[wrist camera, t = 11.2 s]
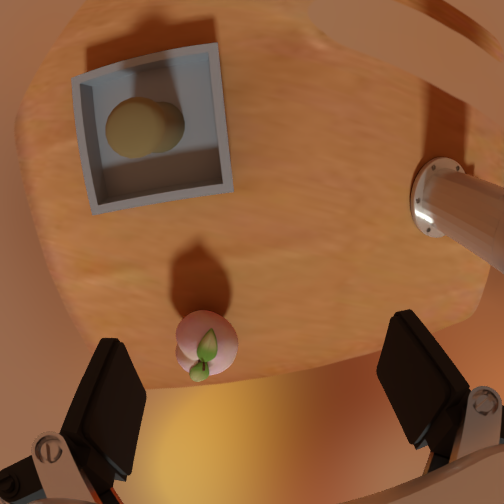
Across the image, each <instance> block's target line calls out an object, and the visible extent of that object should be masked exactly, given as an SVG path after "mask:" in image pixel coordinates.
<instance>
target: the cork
mask: <svg viewBox="0 0 504 504" xmlns="http://www.w3.org/2000/svg"><path fill="white" fill-rule="evenodd" d="M184 131H185V121H184V118H183V114H182V113H181V112H180V110H179V109H178V108H177V107H176V106H174V105H173V104H171V103H167V102H154V101H153V100H151V99H149V98H144V97H132V98H129V99H127V100H124V101H122V102H120V103H119V104H118V105H117V106H116V107H115V108H114V109H113V110H112V111H111V113H110V115H109V116H108V119H107V122H106V126H105V135H106V138H107V141H108V144H109V145H110V147H111V148H112V149H113V151H115V152H116V153H118V154H119V155H121V156H123V157H127V158H130V159H132V158H141V157H144V156H146V155H149V154H151V153H163V152H166V151H169V150H171V149H172V148H174V147H175V146H176V145H177V144H178V143H179V141H180V140H181V139H182V137H183V134H184Z"/></svg>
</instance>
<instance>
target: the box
mask: <svg viewBox="0 0 504 504" xmlns="http://www.w3.org/2000/svg"><path fill="white" fill-rule="evenodd" d="M71 80H72V95H73V106H74V116H75V125H76V132H77V140H78V146H79V153H80V159H81V164H82V170H83V175H84V180H85V185H86V190H87V194H88V199H89V203H90V207H91V212H92V215H97V214H102V213H107V212H112V211H117V210H122V209H128V208H133V207H139V206H144V205H150V204H156V203H162V202H168V201H174V200H180V199H187V198H193V197H200V196H207V195H214V194H222V193H229V192H234V188H233V179H232V171H231V162H230V153H229V144H228V136H227V126H226V117H225V108H224V99H223V90H222V80H221V71H220V61H219V51H218V42H217V43H209V44H201V45H194V46H188V47H182V48H176V49H171V50H166V51H161V52H156V53H152V54H147V55H143V56H139V57H135V58H131V59H128V60H124V61H120V62H117V63H114V64H110V65H107V66H104V67H101V68H98V69H95V70H92V71H89V72H86V73H84V74H81V75H78V76H76V77H73V78H71ZM132 97H144V98H149V99H151V100H153V101H154V102H167V103H171V104H173V105H174V106H176V107H177V108H178V109H179V110H180V112H181V113H182V114H183V118H184V121H185V131H184V134H183V137H182V139H181V140H180V141H179V143H178V144H177V145H176V146H175V147H174V148H172V149H171V150H169V151H166V152H163V153H151V154H149V155H146V156H144V157H141V158H132V159H130V158H127V157H123V156H121V155H119V154H118V153H116V152H115V151H113V149H112V148H111V147H110V145H109V144H108V141H107V138H106V135H105V126H106V122H107V119H108V116H109V115H110V113H111V111H112V110H113V109H114V108H115V107H116V106H117V105H118V104H119V103H120V102H122V101H124V100H127V99H129V98H132Z"/></svg>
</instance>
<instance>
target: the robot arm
mask: <svg viewBox="0 0 504 504" xmlns="http://www.w3.org/2000/svg"><path fill="white" fill-rule="evenodd" d="M410 203H411V213H412V217H413V220H414V222H415V224H416V226H417V227H418V228H419V229H420V230H421V231H422V232H423V233H424V234H426V235H428V236H430V237H436V238H437V237H442V236H445V235H447V236H448V237H450V238H451V239H453V240H455V241H456V242H458V243H459V244H461V245H462V246H464V247H465V248H467V249H468V250H470V251H471V252H473V253H474V254H476V255H477V256H479V257H480V258H482V259H483V260H485V261H486V262H488V263H489V264H490V265H492V266H493V267H495V268H496V269H497V270H499V271H500V272H502V273H503V274H504V188H503V187H501V186H498V185H496V184H493V183H490V182H488V181H485V180H482V179H479V178H476V177H474V176H471V175H468V174H465V172H464V170H463V168H462V167H461V165H460V164H459V163H457V162H456V161H455V160H453V159H450V158H446V157H438V158H434V159H432V160H430V161H429V162H428V163H426V164H425V165H424V166H423V168H422V169H421V170H420V171H419V173H418V175H417V177H416V179H415V181H414V184H413V188H412V192H411V200H410ZM377 376H378V379H379V381H380V383H381V384H382V386H383V388H384V391H385V393H386V395H387V397H388V399H389V401H390V403H391V405H392V407H393V409H394V411H395V413H396V415H397V418H398V420H399V422H400V424H401V426H402V428H403V431H404V433H405V435H406V437H407V439H408V441H409V443H410V444H414V446H415V449H416V450H417V449H420V448H422V447H425V446H427V445H428V446H429V448H430V450H431V451H430V454H429V458H428V460H427V463H426V466H425V469H424V472H423V475H422V476H420V477H418V478H415V479H413V480H411V481H408V482H406V483H403V484H400V485H398V486H395V487H393V488H390V489H387V490H384V491H381V492H378V493H375V494H372V495H368V496H365V497H362V498H358V499H355V500H351V501H348V502H343V503H339V504H504V406H503V405H502V400H501V398H500V396H499V394H498V393H497V392H496V391H495V390H494V389H492V388H490V387H487V386H479V387H476V388H474V389H473V390H472V391H471V390H470V389H469V387H470V386H469V384H468V383H467V381H466V380H465V379H464V377H463V376H462V374H461V373H460V372H459V370H458V369H457V368H456V366H455V365H454V363H453V362H452V361H451V359H450V358H449V357H448V356H447V354H446V353H445V351H444V350H443V349H442V347H441V346H440V345H439V343H438V342H437V341H436V340H435V338H434V337H433V336H432V334H431V333H430V332H429V331H428V329H427V328H426V327H425V326H424V324H423V323H422V322H421V321H420V319H419V318H418V317H417V316H416V314H415V313H414V312H413V311H412V310H410V309H409V310H404V311H399V312H396V313H395V314H394V317H391V319H390V322H389V326H388V330H387V334H386V338H385V342H384V345H383V349H382V352H381V356H380V359H379V362H378V365H377ZM145 403H146V391H145V389H144V387H143V385H142V383H141V381H140V379H139V377H138V374H137V372H136V370H135V368H134V366H133V363H132V361H131V359H130V357H129V354H128V352H127V350H126V347H125V345H124V343H122V342H120V341H119V340H118V339H117V338H102V339H101V340H100V342H99V344H98V346H97V348H96V350H95V352H94V354H93V356H92V358H91V361H90V363H89V365H88V367H87V369H86V372H85V374H84V376H83V377H82V380H81V382H80V384H79V386H78V389H77V391H76V393H75V396H74V398H73V401H72V403H71V405H70V408H69V410H68V413H67V415H66V418H65V420H64V423H63V426H62V428H61V431H60V433H56V432H50V431H49V432H45V433H42V434H41V435H39V436H38V437H37V438H36V439H35V440H34V442H33V444H32V449H31V453H32V455H31V456H29V457H27V458H25V459H23V460H21V461H19V462H17V463H15V464H13V465H11V466H9V467H7V468H5V469H3V470H1V471H0V504H124V503H123V502H122V501H121V499H120V497H119V496H118V494H117V493H116V491H115V490H114V488H113V483H114V480H120V481H125V482H126V478H127V475H130V474H131V472H132V467H133V461H134V456H135V450H136V445H137V440H138V435H139V430H140V426H141V421H142V416H143V412H144V407H145Z"/></svg>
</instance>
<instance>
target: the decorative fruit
mask: <svg viewBox="0 0 504 504" xmlns="http://www.w3.org/2000/svg"><path fill="white" fill-rule="evenodd" d="M176 339H177V346H176V358H177V360H178V362H179V364H180V365H181V366H182V368H183V369H184V370H186V371H187V372H189V373H190V378H191V379H192V380H193V381H196V382H199V381H203V380H205V379H206V378H207V377H208V376H209V375H213V374H217V373H220V372H222V371H224V370H226V369H227V368H228V367H229V366H230V365H231V364H232V363H233V361H234V359H235V357H236V354H237V349H238V338H237V334H236V332H235V330H234V328H233V327H232V325H231V324H230V323H229V322H228V321H227V320H226V319H225V318H223V317H222V316H220V315H219V314H217V313H215V312H212V311H208V310H198V311H194V312H192V313H190V314H188V315H187V316H186V317H184V318H183V319H182V321H181V322H180V323H179V325H178V327H177V330H176Z"/></svg>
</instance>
